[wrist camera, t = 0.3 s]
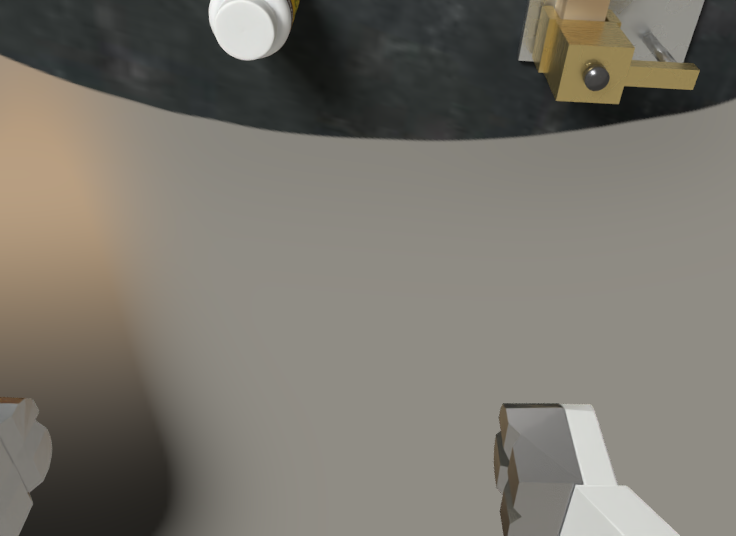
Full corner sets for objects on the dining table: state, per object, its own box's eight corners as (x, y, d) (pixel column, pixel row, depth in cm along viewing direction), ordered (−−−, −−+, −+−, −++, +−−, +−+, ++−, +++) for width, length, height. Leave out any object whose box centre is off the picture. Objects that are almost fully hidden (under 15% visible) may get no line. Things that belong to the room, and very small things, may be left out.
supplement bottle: (315, 1, 54) (303, 50, 46) (255, 33, 55) (232, 86, 47) (277, -70, 50) (256, -30, 42) (214, -33, 52) (183, 12, 44)
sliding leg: (542, 5, 52) (565, 48, 45) (669, 12, 52) (711, 56, 45) (531, 57, 55) (552, 105, 48) (653, 63, 55) (690, 113, 48)
